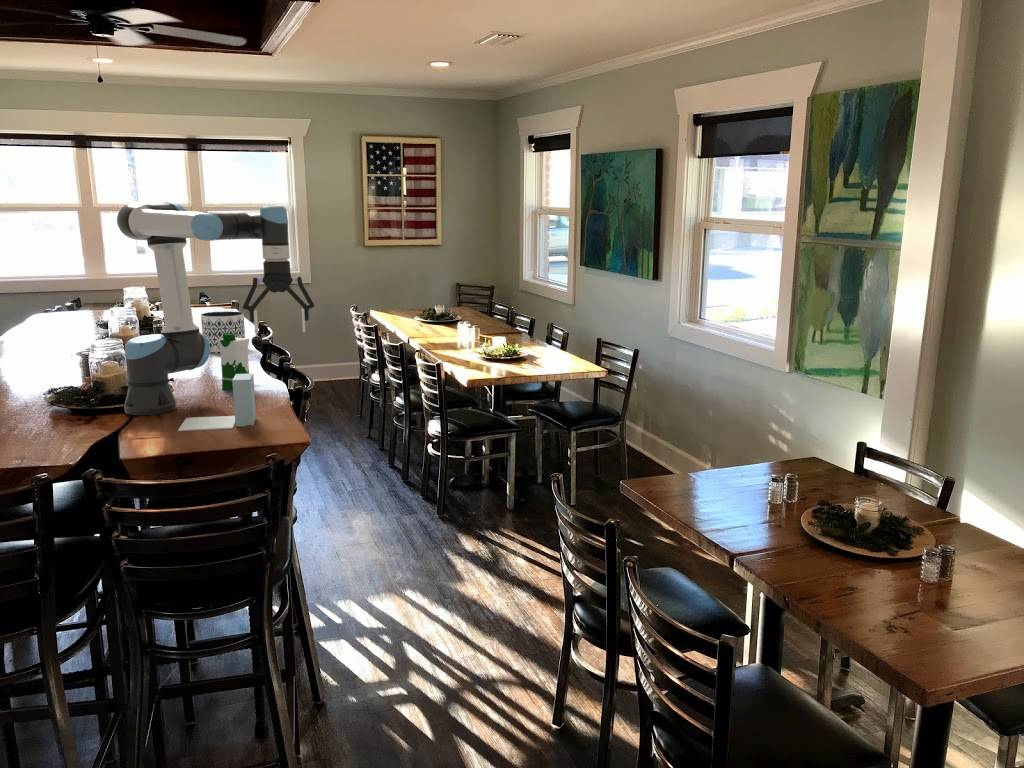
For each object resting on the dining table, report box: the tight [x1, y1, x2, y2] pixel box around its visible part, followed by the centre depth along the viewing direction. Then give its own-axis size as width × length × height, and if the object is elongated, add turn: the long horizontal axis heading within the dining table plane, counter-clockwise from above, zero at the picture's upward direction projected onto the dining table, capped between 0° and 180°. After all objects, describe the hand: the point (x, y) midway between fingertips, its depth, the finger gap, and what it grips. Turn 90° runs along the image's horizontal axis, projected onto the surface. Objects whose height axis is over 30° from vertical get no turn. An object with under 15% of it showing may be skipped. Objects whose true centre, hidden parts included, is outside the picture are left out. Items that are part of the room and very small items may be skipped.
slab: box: [232, 372, 257, 427], centre depth 240 cm, size 5×9×14 cm, turn 12°
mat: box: [177, 415, 235, 432], centre depth 240 cm, size 15×14×1 cm
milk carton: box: [217, 333, 250, 392], centre depth 284 cm, size 9×9×20 cm
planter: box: [200, 310, 246, 354], centre depth 363 cm, size 18×18×16 cm
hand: (280, 332), depth 239 cm, fingers open, 13 cm apart
